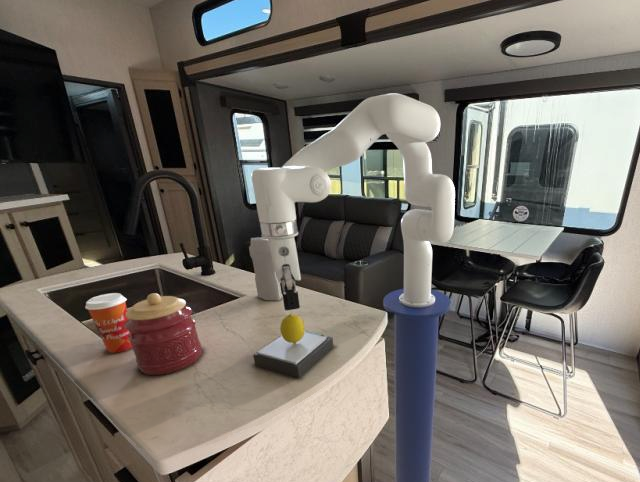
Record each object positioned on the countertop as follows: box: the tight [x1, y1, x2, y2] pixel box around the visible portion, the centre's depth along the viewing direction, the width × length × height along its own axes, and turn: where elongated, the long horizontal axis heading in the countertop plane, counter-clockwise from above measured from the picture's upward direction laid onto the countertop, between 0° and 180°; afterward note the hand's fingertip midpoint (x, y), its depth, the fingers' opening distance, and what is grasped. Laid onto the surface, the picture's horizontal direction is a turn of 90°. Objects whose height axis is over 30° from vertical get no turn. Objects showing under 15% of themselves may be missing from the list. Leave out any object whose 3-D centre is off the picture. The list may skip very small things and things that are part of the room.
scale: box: [252, 329, 334, 379], centre depth 79 cm, size 14×13×4 cm
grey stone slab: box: [248, 237, 281, 301], centre depth 110 cm, size 11×4×22 cm, turn 69°
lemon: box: [279, 313, 306, 344], centre depth 77 cm, size 6×6×8 cm
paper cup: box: [85, 292, 133, 354], centre depth 81 cm, size 8×8×14 cm
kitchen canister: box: [124, 292, 202, 376], centre depth 75 cm, size 13×13×18 cm
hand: (290, 300), depth 75 cm, fingers open, 9 cm apart
